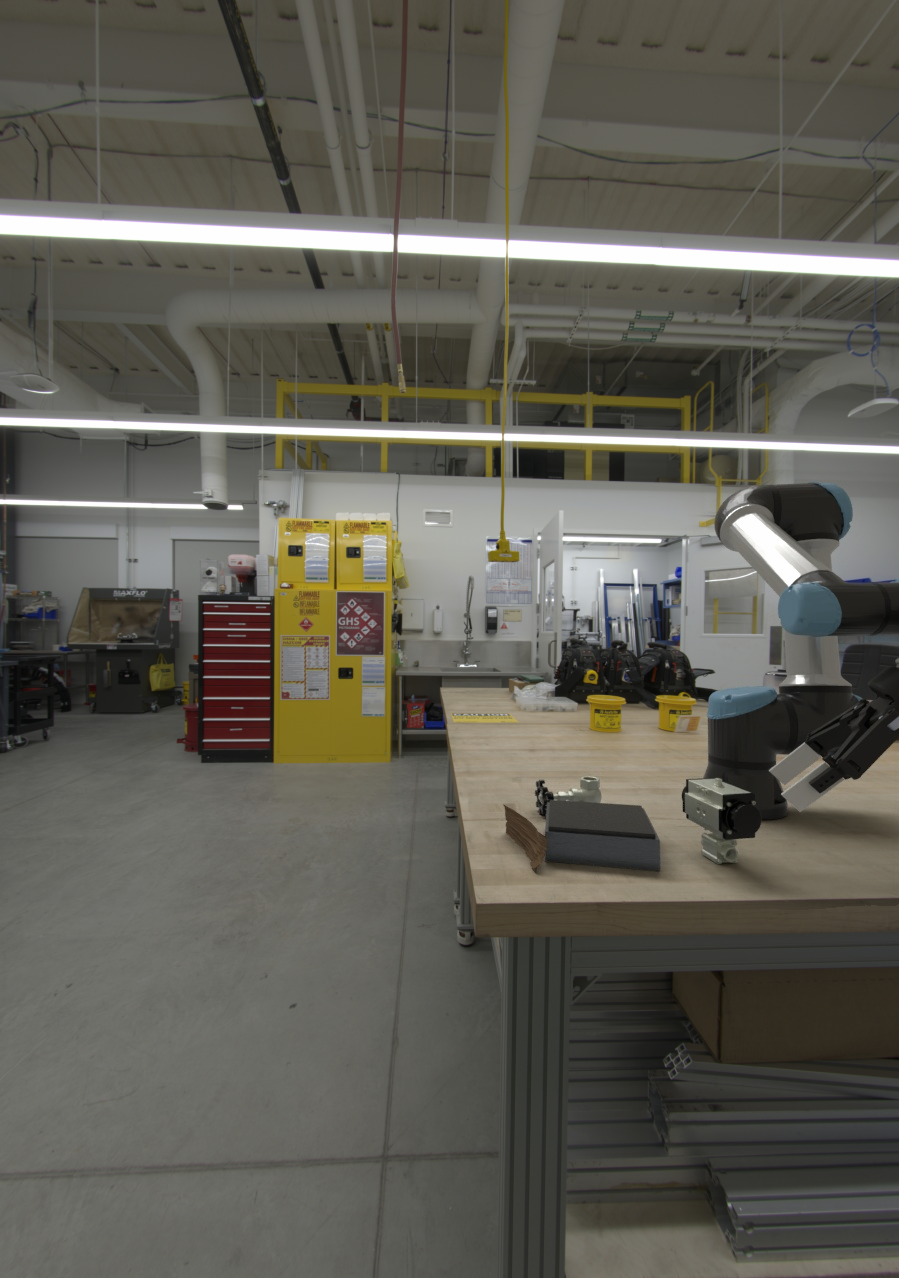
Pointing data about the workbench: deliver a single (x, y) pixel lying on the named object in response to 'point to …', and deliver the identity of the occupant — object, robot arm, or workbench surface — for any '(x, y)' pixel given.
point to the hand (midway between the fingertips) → (782, 789)
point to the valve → (569, 793)
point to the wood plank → (526, 836)
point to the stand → (601, 835)
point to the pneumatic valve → (720, 816)
